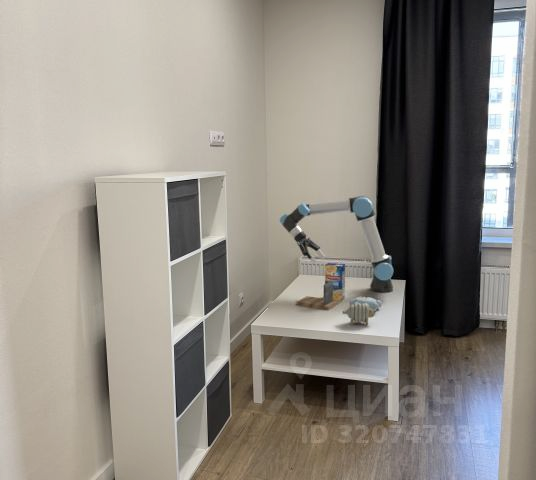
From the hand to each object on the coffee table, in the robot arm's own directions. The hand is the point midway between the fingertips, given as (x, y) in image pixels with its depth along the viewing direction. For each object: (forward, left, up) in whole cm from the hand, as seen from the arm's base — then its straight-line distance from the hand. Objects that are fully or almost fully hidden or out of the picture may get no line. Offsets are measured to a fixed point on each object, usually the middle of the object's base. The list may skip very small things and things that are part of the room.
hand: (319, 260), depth 334 cm
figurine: (-36, +12, -24) cm, 45 cm away
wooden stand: (-6, +16, -24) cm, 29 cm away
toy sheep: (-41, +37, -24) cm, 60 cm away
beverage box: (-11, 0, -24) cm, 26 cm away
